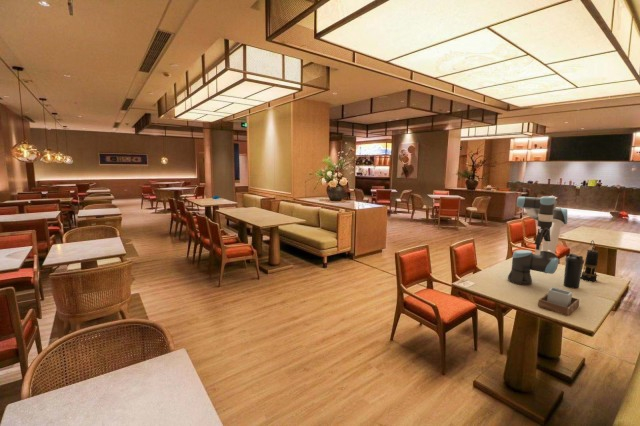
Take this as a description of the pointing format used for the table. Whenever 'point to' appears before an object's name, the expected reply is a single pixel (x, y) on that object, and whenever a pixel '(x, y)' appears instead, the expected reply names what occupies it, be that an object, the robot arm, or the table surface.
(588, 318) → the table surface
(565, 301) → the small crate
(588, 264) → the lantern
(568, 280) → the water bottle
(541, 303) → the walnut crate
